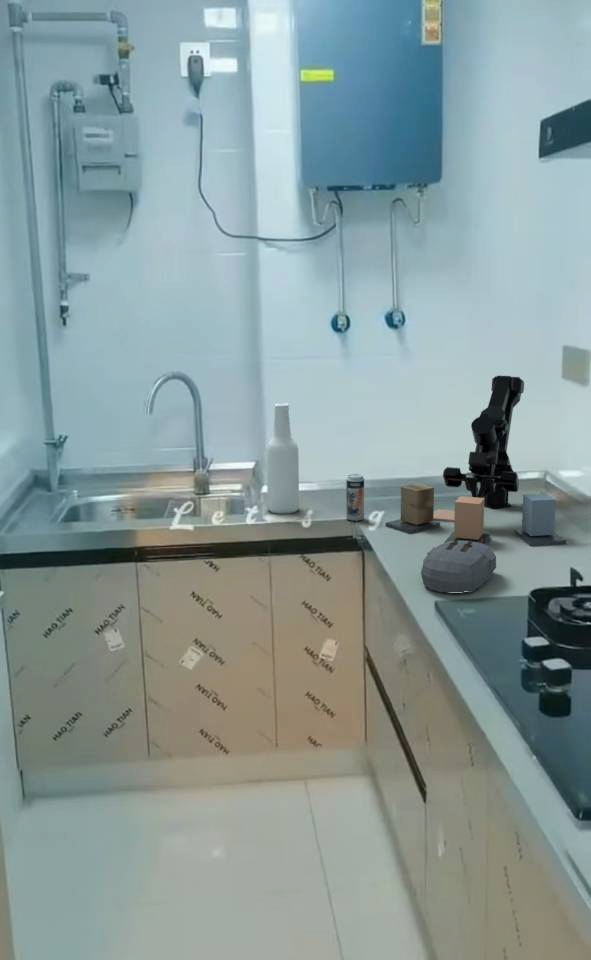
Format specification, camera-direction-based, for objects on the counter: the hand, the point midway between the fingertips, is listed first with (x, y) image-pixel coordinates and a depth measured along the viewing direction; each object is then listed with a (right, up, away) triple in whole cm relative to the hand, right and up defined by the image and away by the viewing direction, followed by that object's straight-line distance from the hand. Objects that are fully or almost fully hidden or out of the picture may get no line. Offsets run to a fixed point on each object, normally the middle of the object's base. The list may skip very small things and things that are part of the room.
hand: (475, 507), depth 238 cm
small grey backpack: (-10, -15, -34) cm, 38 cm away
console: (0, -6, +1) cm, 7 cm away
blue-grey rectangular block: (+15, -6, -3) cm, 16 cm away
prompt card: (-4, -3, +16) cm, 17 cm away
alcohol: (-49, -2, +25) cm, 55 cm away
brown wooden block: (-14, -4, +8) cm, 16 cm away
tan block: (-3, -7, -5) cm, 9 cm away
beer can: (-29, -4, +15) cm, 33 cm away
